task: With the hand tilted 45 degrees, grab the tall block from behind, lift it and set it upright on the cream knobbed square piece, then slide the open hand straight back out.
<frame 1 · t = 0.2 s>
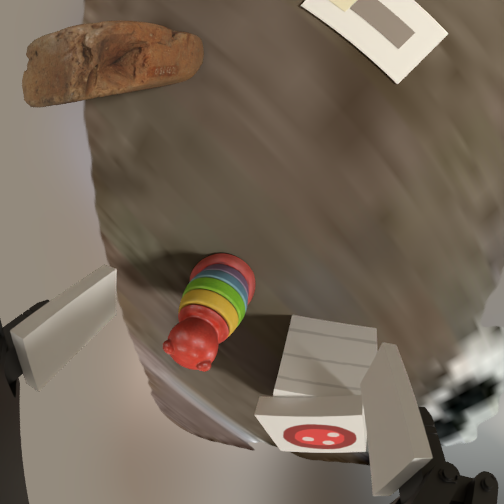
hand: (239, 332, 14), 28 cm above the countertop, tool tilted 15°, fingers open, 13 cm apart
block: (170, 55, 32), on the countertop
stacking bear: (227, 276, 50), on the countertop
white storage box: (322, 364, 57), on the countertop
instruction sheet: (377, 15, 24), on the countertop
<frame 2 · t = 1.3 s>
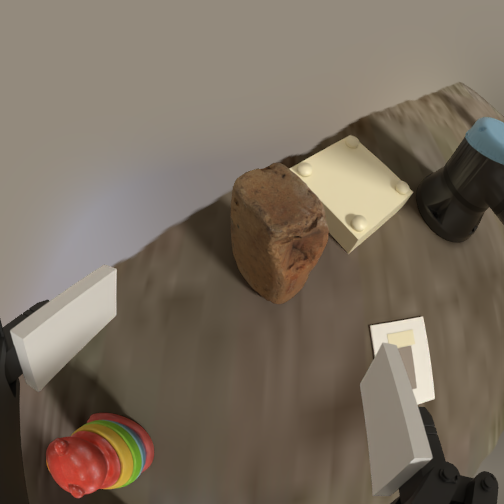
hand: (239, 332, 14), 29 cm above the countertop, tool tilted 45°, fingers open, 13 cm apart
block: (269, 274, 47), on the countertop
stacking bear: (123, 446, 35), on the countertop
cream knobbed square piece: (347, 196, 53), on the countertop
instruction sheet: (404, 364, 41), on the countertop
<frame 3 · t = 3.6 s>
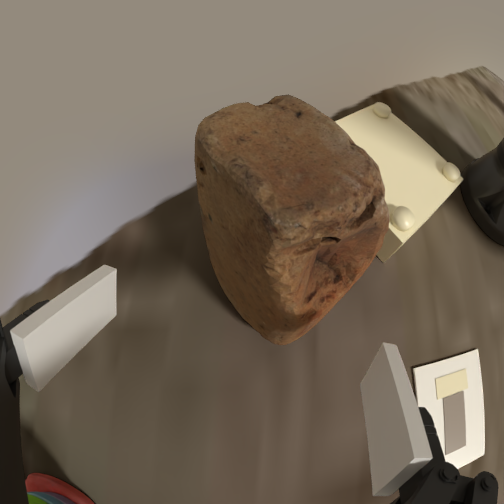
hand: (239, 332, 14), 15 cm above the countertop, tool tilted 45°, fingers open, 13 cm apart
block: (268, 294, 30), on the countertop
cream knobbed square piece: (376, 183, 37), on the countertop
instruction sheet: (453, 416, 24), on the countertop
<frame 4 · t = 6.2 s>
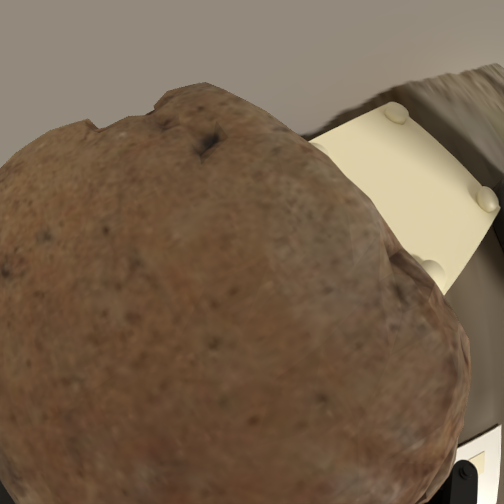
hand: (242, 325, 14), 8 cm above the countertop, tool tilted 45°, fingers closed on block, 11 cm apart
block: (234, 383, 21), on the countertop, touching gripper
cream knobbed square piece: (389, 212, 27), on the countertop
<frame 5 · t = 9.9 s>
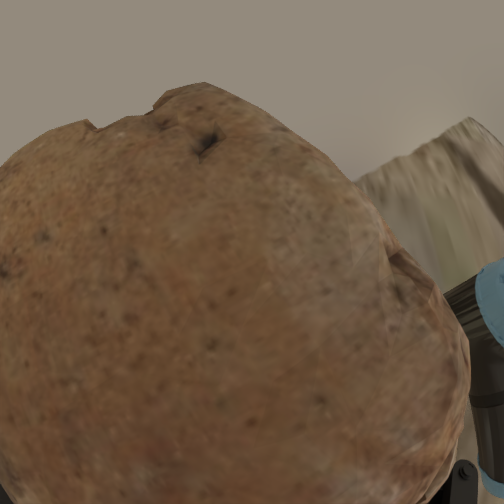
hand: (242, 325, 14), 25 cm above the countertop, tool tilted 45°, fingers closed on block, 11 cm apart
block: (233, 383, 21), point 16 cm above the countertop, touching gripper
when the fingers open (14 cm above the countertop, at t = 13.6 s): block stays where it is, resting on cream knobbed square piece.
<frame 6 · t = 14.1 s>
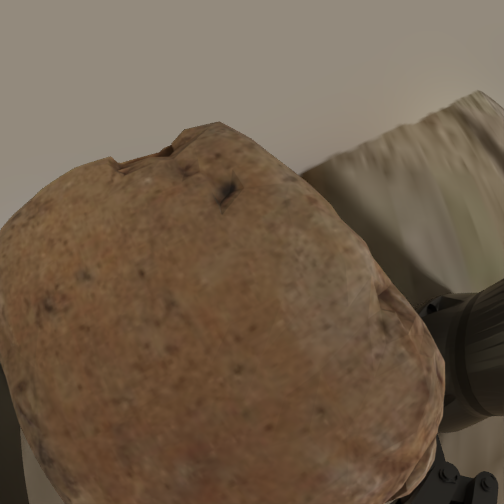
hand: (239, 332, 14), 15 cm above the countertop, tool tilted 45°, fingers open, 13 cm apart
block: (237, 385, 22), point 5 cm above the countertop, touching cream knobbed square piece
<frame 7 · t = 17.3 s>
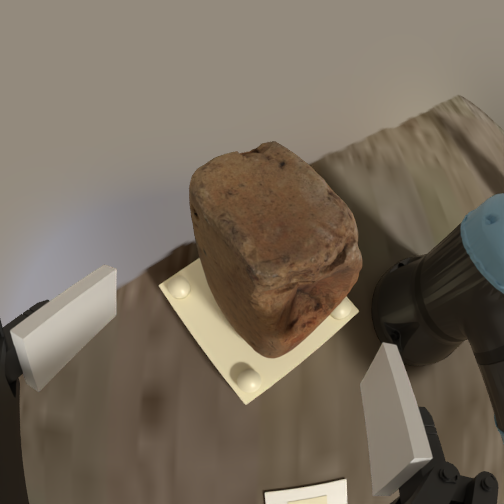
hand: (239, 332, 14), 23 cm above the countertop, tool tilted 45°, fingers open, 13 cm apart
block: (260, 310, 33), point 5 cm above the countertop, touching cream knobbed square piece
cream knobbed square piece: (257, 311, 37), on the countertop
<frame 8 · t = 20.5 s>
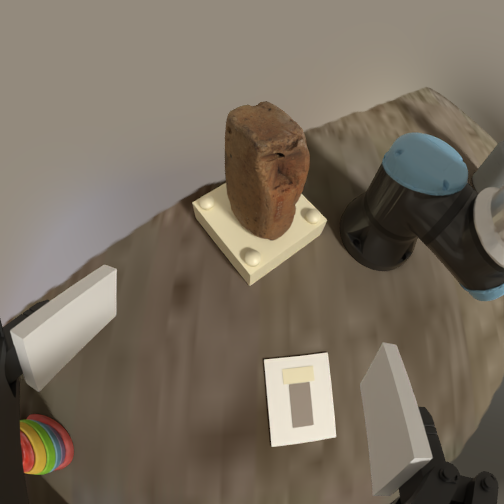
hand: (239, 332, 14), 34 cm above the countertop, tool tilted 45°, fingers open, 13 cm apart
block: (260, 217, 50), point 5 cm above the countertop, touching cream knobbed square piece
stacking bear: (53, 443, 36), on the countertop
cream knobbed square piece: (258, 225, 55), on the countertop
water bottle: (484, 189, 63), on the countertop
instruction sheet: (300, 400, 42), on the countertop
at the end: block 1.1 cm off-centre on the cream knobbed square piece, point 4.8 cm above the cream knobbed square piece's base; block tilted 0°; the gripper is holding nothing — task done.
